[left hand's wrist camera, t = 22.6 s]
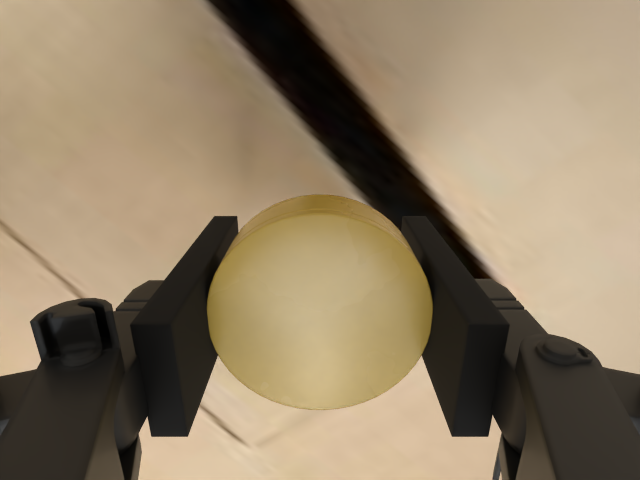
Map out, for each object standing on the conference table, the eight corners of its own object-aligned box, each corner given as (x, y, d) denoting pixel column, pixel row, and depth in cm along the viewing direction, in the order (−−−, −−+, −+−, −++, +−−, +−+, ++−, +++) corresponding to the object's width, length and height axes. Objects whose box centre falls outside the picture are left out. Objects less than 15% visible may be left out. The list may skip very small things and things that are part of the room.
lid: (444, 218, 11) (466, 241, 9) (387, 383, 13) (396, 426, 11) (236, 173, 10) (222, 189, 9) (209, 351, 12) (194, 390, 11)
